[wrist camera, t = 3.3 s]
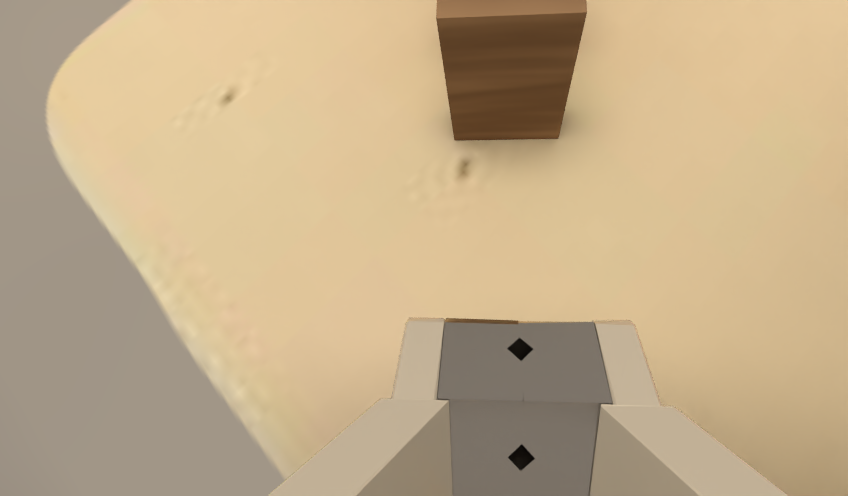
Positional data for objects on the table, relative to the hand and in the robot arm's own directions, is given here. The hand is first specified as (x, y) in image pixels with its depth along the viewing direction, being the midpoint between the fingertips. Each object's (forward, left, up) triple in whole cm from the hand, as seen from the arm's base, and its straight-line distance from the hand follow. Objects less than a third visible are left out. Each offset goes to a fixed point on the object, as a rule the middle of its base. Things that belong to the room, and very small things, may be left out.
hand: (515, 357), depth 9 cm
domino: (+2, -13, -20) cm, 24 cm away
